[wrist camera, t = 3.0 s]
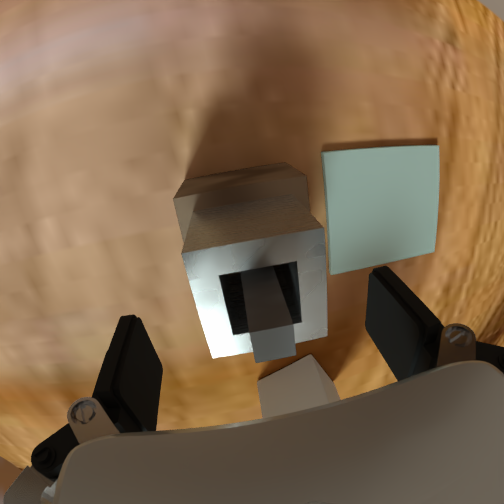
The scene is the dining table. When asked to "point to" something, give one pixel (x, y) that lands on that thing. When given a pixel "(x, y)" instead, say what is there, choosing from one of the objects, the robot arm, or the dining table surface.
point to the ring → (251, 257)
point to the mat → (380, 204)
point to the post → (260, 279)
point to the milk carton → (296, 388)
